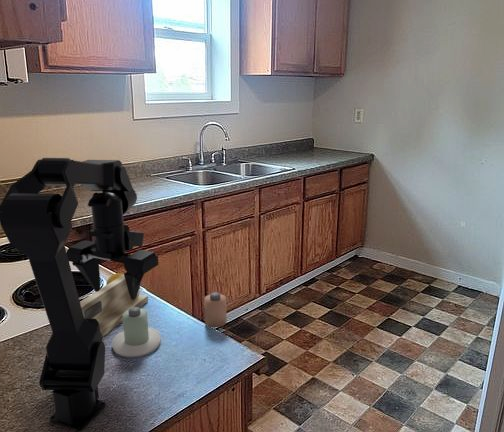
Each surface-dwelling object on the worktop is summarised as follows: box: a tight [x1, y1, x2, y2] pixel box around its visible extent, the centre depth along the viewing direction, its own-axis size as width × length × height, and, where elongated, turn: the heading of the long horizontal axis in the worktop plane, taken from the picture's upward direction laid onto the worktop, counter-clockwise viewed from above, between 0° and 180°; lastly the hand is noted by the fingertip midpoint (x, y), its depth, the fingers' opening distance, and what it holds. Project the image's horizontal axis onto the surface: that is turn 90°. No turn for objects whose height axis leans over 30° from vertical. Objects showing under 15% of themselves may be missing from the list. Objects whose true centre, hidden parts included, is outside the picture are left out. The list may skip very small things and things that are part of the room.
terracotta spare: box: [204, 291, 227, 328], centre depth 100 cm, size 5×5×7 cm
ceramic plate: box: [111, 326, 162, 358], centre depth 93 cm, size 10×10×1 cm
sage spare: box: [122, 307, 149, 346], centre depth 92 cm, size 5×5×7 cm
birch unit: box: [80, 273, 149, 338], centre depth 101 cm, size 22×5×8 cm, turn 159°
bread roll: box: [106, 272, 142, 289], centre depth 118 cm, size 8×9×4 cm
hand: (115, 294), depth 90 cm, fingers open, 9 cm apart
